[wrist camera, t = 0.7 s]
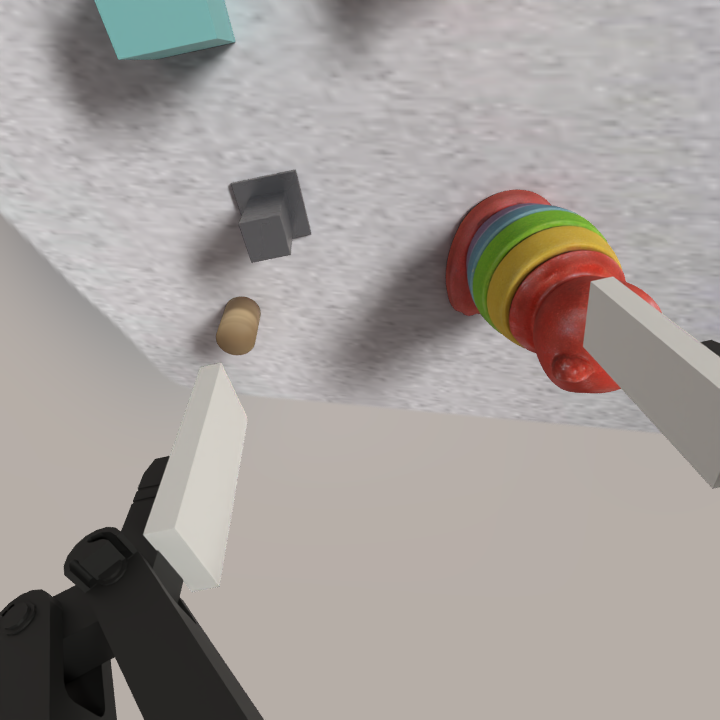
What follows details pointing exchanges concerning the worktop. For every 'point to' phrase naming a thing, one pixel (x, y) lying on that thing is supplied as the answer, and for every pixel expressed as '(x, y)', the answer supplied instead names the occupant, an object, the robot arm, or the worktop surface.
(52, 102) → the worktop surface
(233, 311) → the oak stub
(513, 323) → the stacking bear
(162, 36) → the teal rectangular prism
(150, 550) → the robot arm
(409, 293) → the worktop surface
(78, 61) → the worktop surface
